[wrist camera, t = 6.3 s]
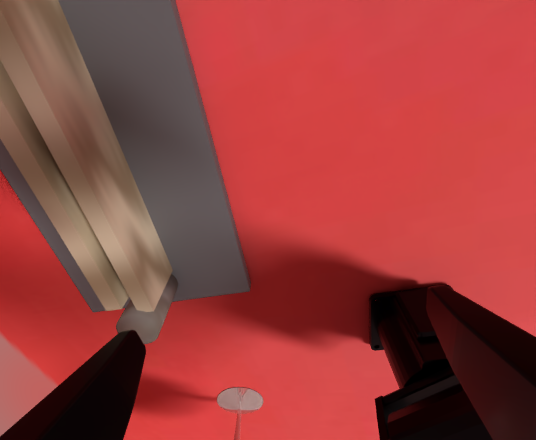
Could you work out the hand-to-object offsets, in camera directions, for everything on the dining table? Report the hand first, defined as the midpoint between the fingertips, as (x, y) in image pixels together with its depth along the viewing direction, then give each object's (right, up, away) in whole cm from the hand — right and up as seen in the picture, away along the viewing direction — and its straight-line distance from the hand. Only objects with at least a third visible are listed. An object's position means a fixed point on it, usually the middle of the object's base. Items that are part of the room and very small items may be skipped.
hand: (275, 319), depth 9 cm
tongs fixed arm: (-10, +6, +9) cm, 15 cm away
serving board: (-10, +6, +10) cm, 15 cm away
